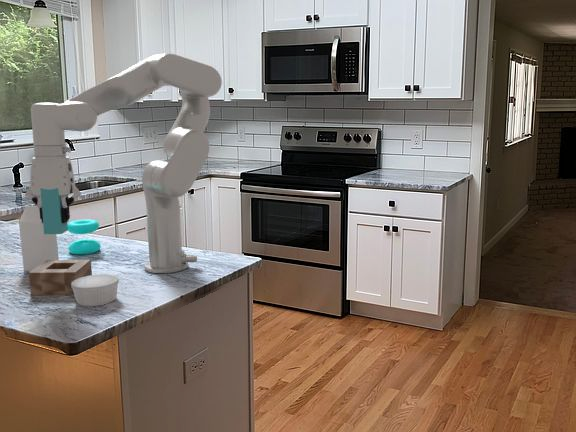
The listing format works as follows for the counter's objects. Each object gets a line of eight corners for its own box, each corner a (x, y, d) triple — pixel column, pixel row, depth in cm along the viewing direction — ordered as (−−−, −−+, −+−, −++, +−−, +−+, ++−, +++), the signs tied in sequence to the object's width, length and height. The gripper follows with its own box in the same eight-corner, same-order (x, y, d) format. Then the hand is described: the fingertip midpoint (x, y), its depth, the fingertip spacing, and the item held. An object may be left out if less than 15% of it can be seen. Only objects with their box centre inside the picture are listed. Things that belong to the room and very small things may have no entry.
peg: (67, 230, 163) (64, 185, 161) (61, 234, 159) (58, 188, 157) (51, 230, 163) (47, 185, 161) (44, 234, 159) (40, 188, 157)
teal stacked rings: (84, 217, 207) (105, 220, 201) (86, 246, 209) (107, 250, 203) (59, 223, 198) (80, 226, 193) (62, 253, 200) (83, 257, 195)
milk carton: (45, 272, 178) (39, 208, 174) (23, 271, 180) (17, 207, 176) (59, 266, 185) (53, 203, 181) (38, 265, 187) (32, 203, 183)
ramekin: (65, 301, 154) (63, 280, 153) (105, 290, 162) (104, 271, 161) (86, 311, 146) (84, 290, 145) (128, 300, 154) (126, 280, 153)
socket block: (92, 280, 170) (90, 259, 169) (77, 294, 159) (75, 272, 157) (49, 280, 171) (47, 260, 169) (30, 295, 159) (28, 272, 158)
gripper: (87, 150, 161) (92, 219, 164) (23, 150, 161) (29, 219, 165) (77, 153, 153) (82, 225, 157) (10, 153, 154) (16, 225, 157)
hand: (55, 221), depth 161 cm, fingers closed on peg, 4 cm apart
